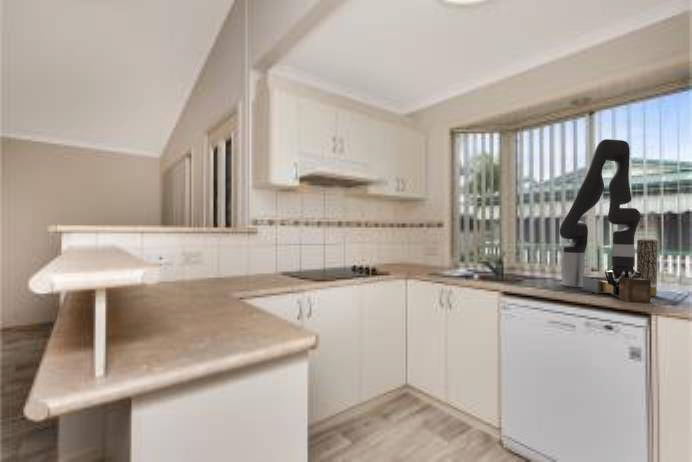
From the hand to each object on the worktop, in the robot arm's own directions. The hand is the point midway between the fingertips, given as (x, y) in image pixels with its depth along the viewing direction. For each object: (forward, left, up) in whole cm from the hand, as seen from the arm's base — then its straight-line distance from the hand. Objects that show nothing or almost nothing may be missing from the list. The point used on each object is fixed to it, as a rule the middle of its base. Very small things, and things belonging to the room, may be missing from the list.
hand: (622, 295), depth 142 cm
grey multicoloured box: (-14, 0, -1) cm, 14 cm away
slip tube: (-2, 0, 0) cm, 2 cm away
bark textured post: (-8, +17, -1) cm, 19 cm away
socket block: (+6, 0, -1) cm, 6 cm away
